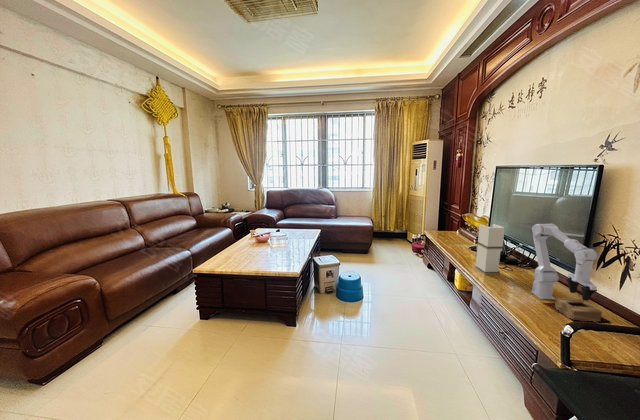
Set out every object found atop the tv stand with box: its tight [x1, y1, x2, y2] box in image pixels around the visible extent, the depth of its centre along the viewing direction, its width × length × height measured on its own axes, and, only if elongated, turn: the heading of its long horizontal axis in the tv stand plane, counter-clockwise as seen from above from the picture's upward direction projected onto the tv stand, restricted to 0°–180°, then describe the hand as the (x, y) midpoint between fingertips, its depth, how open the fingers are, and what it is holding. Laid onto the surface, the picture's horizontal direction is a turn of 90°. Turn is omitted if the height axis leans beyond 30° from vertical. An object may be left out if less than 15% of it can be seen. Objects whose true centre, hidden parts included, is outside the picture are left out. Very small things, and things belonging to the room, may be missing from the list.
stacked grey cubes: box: [475, 223, 505, 276], centre depth 185 cm, size 11×11×35 cm
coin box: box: [554, 297, 603, 323], centre depth 132 cm, size 12×12×6 cm
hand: (578, 296), depth 131 cm, fingers open, 7 cm apart
